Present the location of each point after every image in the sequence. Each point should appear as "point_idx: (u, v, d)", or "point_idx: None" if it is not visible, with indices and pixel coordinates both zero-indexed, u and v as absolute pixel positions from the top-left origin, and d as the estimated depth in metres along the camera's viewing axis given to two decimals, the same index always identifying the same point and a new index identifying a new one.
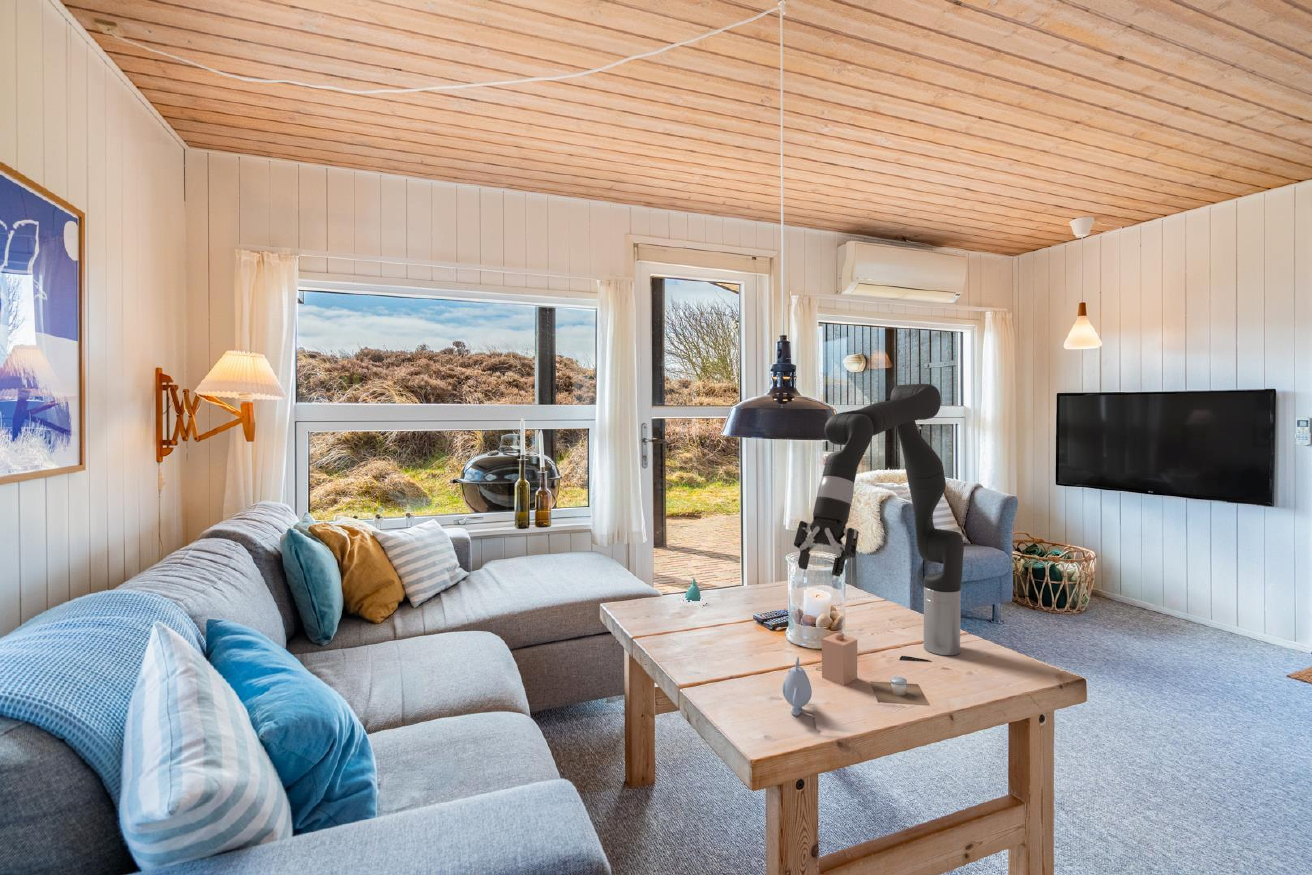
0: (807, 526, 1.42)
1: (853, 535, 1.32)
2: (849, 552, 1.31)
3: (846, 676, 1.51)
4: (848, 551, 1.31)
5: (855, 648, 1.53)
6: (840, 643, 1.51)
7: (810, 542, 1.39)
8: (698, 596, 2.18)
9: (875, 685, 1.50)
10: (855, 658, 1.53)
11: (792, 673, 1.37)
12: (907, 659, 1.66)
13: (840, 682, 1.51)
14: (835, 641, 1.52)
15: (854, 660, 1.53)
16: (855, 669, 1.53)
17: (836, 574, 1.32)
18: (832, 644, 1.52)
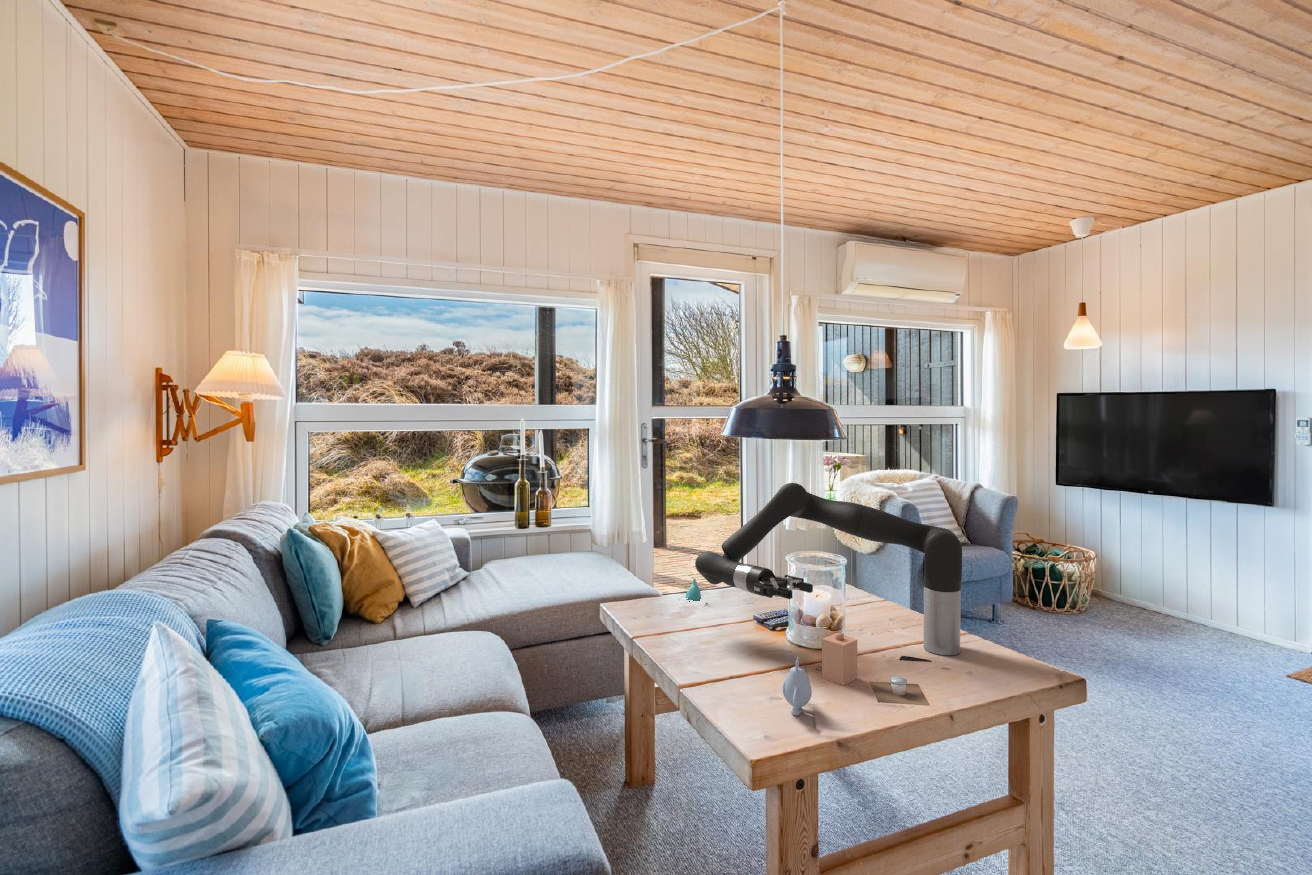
0: None
1: (757, 591, 1.65)
2: (768, 596, 1.62)
3: (846, 676, 1.51)
4: None
5: (855, 648, 1.53)
6: (840, 643, 1.51)
7: (790, 589, 1.68)
8: (698, 596, 2.18)
9: (875, 685, 1.50)
10: (855, 658, 1.53)
11: (792, 673, 1.37)
12: (907, 659, 1.66)
13: (840, 682, 1.51)
14: (835, 641, 1.52)
15: (854, 660, 1.53)
16: (855, 669, 1.53)
17: (789, 596, 1.59)
18: (832, 644, 1.52)
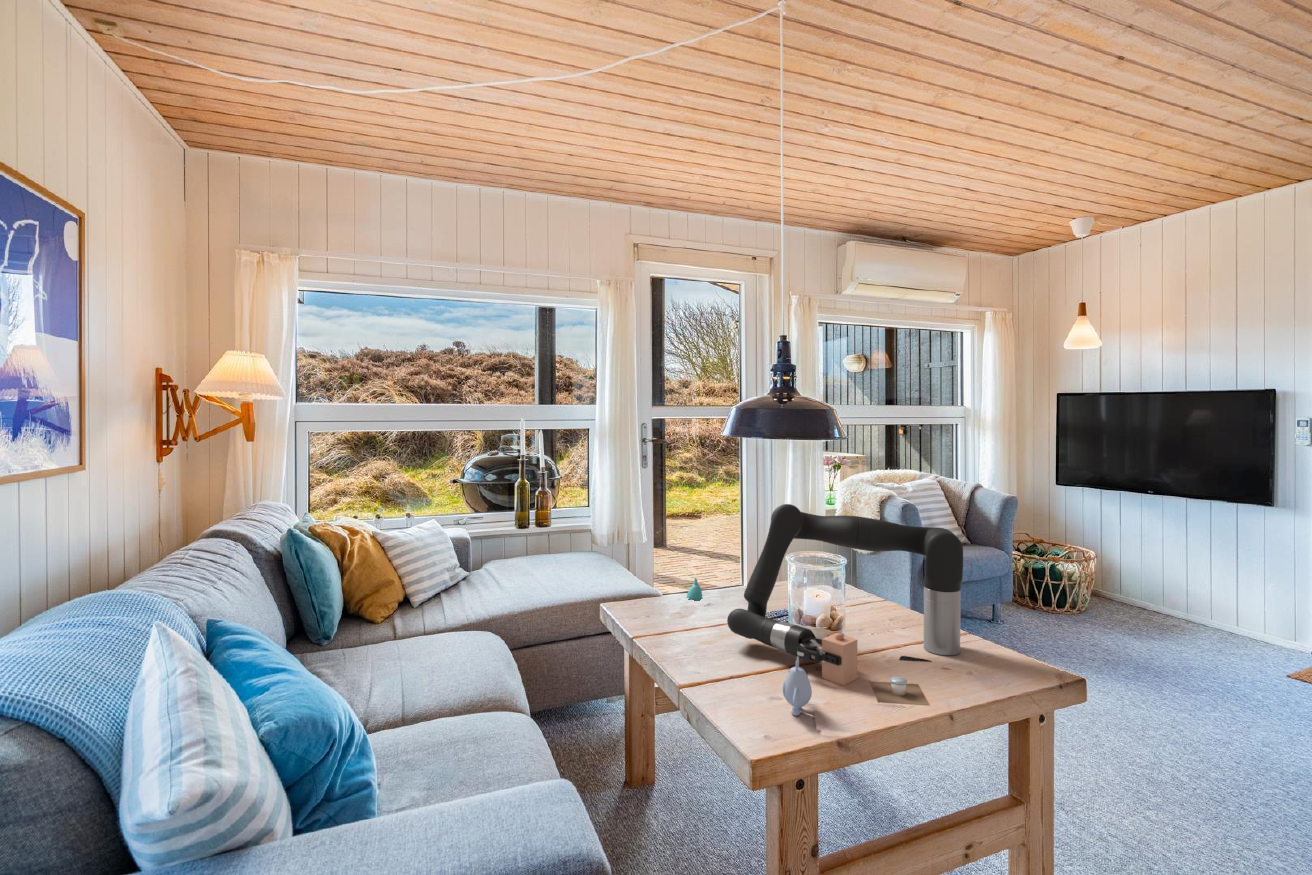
0: None
1: (801, 656, 1.55)
2: (815, 662, 1.52)
3: (846, 676, 1.51)
4: None
5: (855, 648, 1.53)
6: (840, 643, 1.51)
7: None
8: (700, 595, 2.19)
9: (875, 685, 1.50)
10: (855, 658, 1.53)
11: (792, 673, 1.37)
12: (907, 659, 1.66)
13: (840, 682, 1.51)
14: (835, 641, 1.52)
15: (854, 660, 1.53)
16: (855, 669, 1.53)
17: (838, 662, 1.50)
18: (832, 644, 1.52)
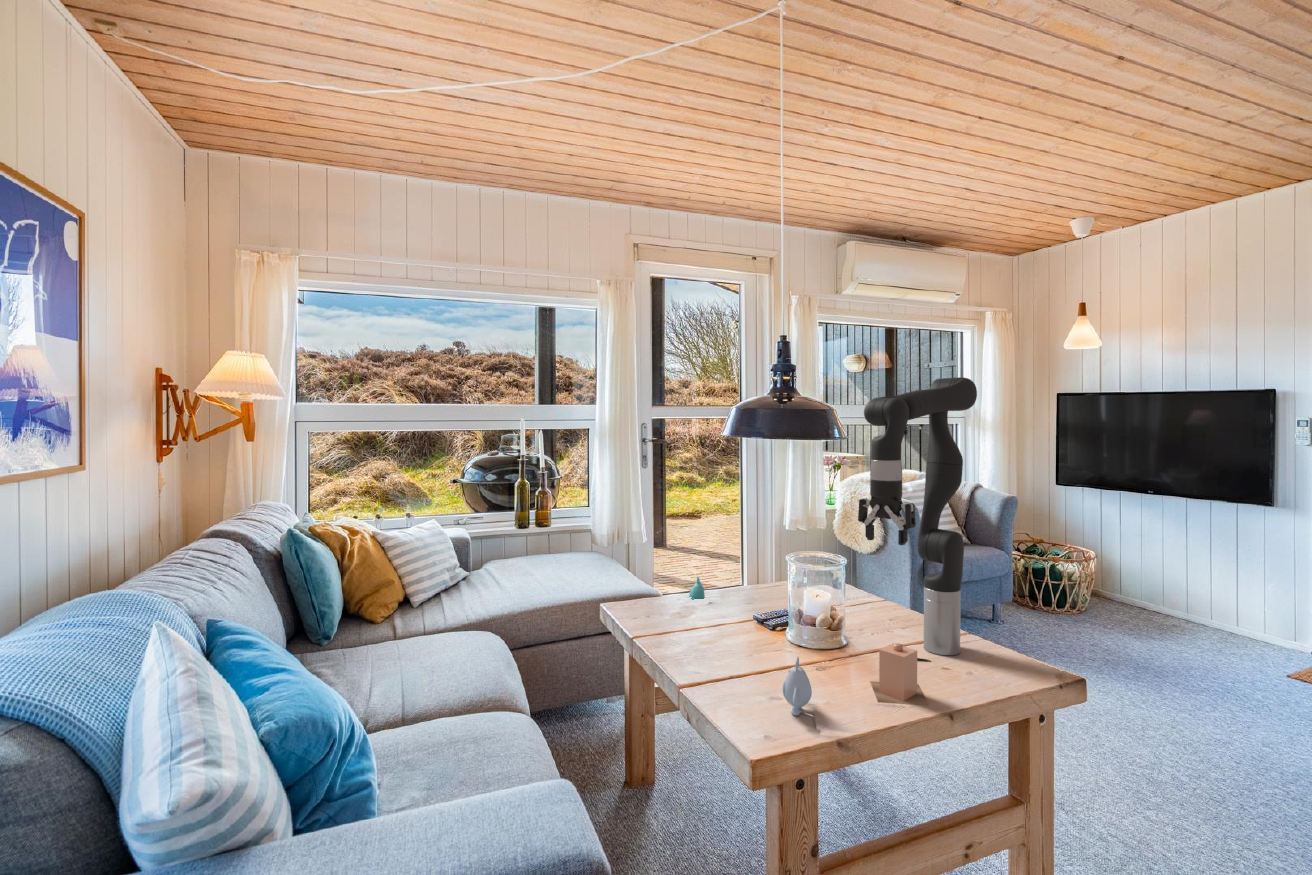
0: (866, 502, 1.61)
1: (911, 509, 1.52)
2: (910, 525, 1.52)
3: (906, 689, 1.42)
4: (909, 524, 1.52)
5: (915, 660, 1.45)
6: (900, 654, 1.43)
7: (873, 518, 1.59)
8: (702, 594, 2.20)
9: (875, 685, 1.50)
10: (915, 670, 1.45)
11: (792, 673, 1.37)
12: None
13: (900, 696, 1.42)
14: (894, 652, 1.44)
15: (914, 672, 1.45)
16: (915, 682, 1.45)
17: (902, 544, 1.54)
18: (890, 655, 1.44)
